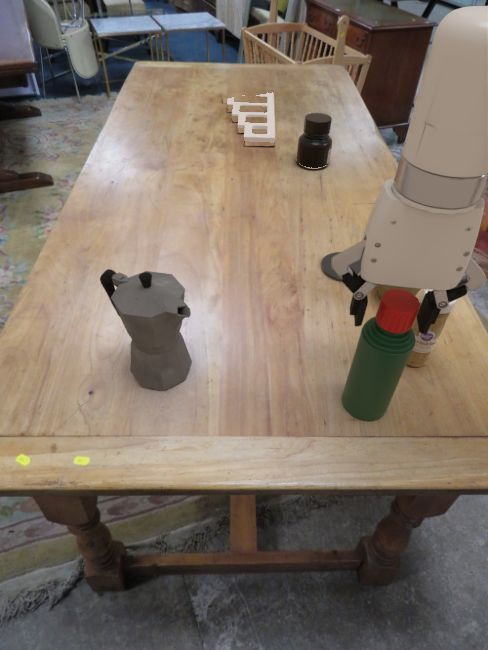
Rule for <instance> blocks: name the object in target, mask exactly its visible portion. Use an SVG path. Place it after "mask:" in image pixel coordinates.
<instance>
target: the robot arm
mask: <svg viewBox="0 0 488 650" xmlns="http://www.w3.org/2000/svg"><path fill="white" fill-rule="evenodd" d="M406 132H407V133H406V136H405V140H404V143H403V146H402V147H403V148H402V151H401V154H400V157H399V161H398V163H397V168H396V172H395V176H394V178H388V179H387V180H385V181H384V183H383V184H382V186H381V188H380V189H379V193H378V195H377V197H376V199H375V201H374V204H373V206H372V209H371V210H370V215H369V217H368V220H367V223H366V226H365V229H364V232H363V235H362V238H361V241H359V242H357V243H356V244H354V245H352V246H350V247H348V248H346V249H344V250H342V251H340V252H341V253H339V254H337V255H335V256H333V257H332V259H331V267H332V269H333V270H334V271H335V272H336V274H337V275H338V276H339V277H340V278H341V279H342V281H341V282H342V283H343V284H344V286H345V287H346V288H347V289H348V290H349V291H350V292H351V293H352V297H351V300H350V305H349V316H353V318H354V327H361V326H363V322H364V318H365V315H366V311H367V308H368V305H369V296H368V295H369V294H370V293H371V292H372V291H373V290H374V289H375V288H377V285H378V284H383V285H391V286H400V287H409V288H419V289H421V290H424V289H430V290H433V291H428V292H427V293H426V294H425V296H424V299H423V301H422V303H421V306H420V308H419V311H418V313H417V322H418V327H419V332H421V334H427V332H428V330H429V328H430V325H431V324H435V322H436V320H437V317H438V315H439V313H440V311H441V309H444V308H447V307H448V305H449V303H450V302H452V301H454V300H456V299H458V300H459V299H460V298H463V297H465V296H466V295H467V294H468V292H469V291H470V292H471V291H474V290H475V289H478V288H479V287H482V286H483V285H485V284H487V282H488V278H487V276H486V273H485V271H484V269H482V267H481V266H480V265H479V263H477V262H476V260H475V259H474V258H473V256H472V254H473V252H474V249H475V246H476V243H477V239H478V236H479V233H480V229H481V224H482V220H483V216H484V211H485V210H484V209H485V206H486V205H485V204H486V201H485V197H484V195H485V194H486V191H487V190H488V5H472V6H463V7H460V8H459V7H458V8H456V9H454V10H452V11H450V12H449V13H447V14H446V15H445V16H444V17H443V18H442V19H441V20H440V22H439V24H438V25H437V28H436V30H435V33H434V36H433V38H432V42H431V46H430V48H429V53H428V56H427V60H426V64H425V67H424V70H423V74H422V78H421V82H420V85H419V89H418V92H417V96H416V99H415V104H414V107H413V110H412V115H411V118H410V121H409V125H408V129H407V131H406ZM361 259H362V261H361V271H360V272H359V273H358V274H356V272H355V271H354V270H353V269H352V268H350V267H349V265H351V264H353V263H355V262H357V261H359V260H361Z"/></svg>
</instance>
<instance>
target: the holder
mask: <svg viewBox="0 0 488 650" xmlns="http://www.w3.org/2000/svg"><path fill="white" fill-rule="evenodd" d="M242 96H245V95H242ZM256 96H260V97H267V103H249V102H234V97H232V98H228V99H227V104H226V106H227V105H233V109H232V113H231V117H232V116H238V123H236V124H237V127H236V129H237V128H244V134H243V142H244V141H249V142H270V143H274V142H275V143H276V121H275V120H276V119H275V116H276V115H275V92H274V93H273V92H272V93H268V92H267V93H266V94H260V95H256ZM240 106H262V107H267V112H265V113H264V112H240V111H239V110H240ZM246 117H264V118H267V123H250V122H245V121H246ZM252 129H266V130H267V134H254V133H252Z"/></svg>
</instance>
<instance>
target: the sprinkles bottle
mask: <svg viewBox="0 0 488 650" xmlns="http://www.w3.org/2000/svg"><path fill="white" fill-rule="evenodd" d="M422 290H423V291H422V293H421V294H420V297H419V303H420V306H421V303H422V301H423V299H424V296H425V294H426V293H427V292H428V291H433V290H430V289H422ZM458 300H459V298H458V299H456V300H454V301H452V302H450V303H449V305H448V307H447V308H444V309H441V311H440V313H439V315H438V317H437V320H436V322H435V324H431V325H430V328H429V330H428V332H427V334H421V332H419V327H418V322H417V315H416V317H415V320H414V322H413V325H412V327H411V328H412V330H413V331H414V334H415V340H416V342H415V346H414V348H413V350H412V353H411V355H410V357H409V360H408V362H407V364H406V366H410V367H412V368H413V367H414V368H421V367H424V366H425V365H426V364H427V363H428V360H429V357H430V355H431V353H432V351H433V350H434V348H435V346H436V344H437V342H438V340H439V337H440V336H441V333H442V331H443V329H444V327H445V325H446V322H447V320H448V318H449V315H450V314H451V312H452V311H453V310H454V309H455V307H456V304H457V302H458ZM420 306H419V308H420ZM418 311H419V310H418ZM417 313H418V312H417Z"/></svg>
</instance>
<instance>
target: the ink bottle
mask: <svg viewBox="0 0 488 650" xmlns="http://www.w3.org/2000/svg"><path fill="white" fill-rule="evenodd" d="M332 120H333V118H332V117H331V115H329V114H327V113H322V112H311V113H307V114H306V115H305V116H304V121H303V133H302V134H300V136H299V137H298V138H297V140H298V141H297V149H296V159H297V162H298V163H300V164H301V165H303V166H306V167H310V168H311V167H312V168H318V167H323V166H325V165H327V164H328V163H329V164H330V161H331V155H332V149H333V138H332V137H331V135H330V133H331V128H332V127H331V126H332ZM296 159H295V160H296ZM297 162H296V163H297Z"/></svg>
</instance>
